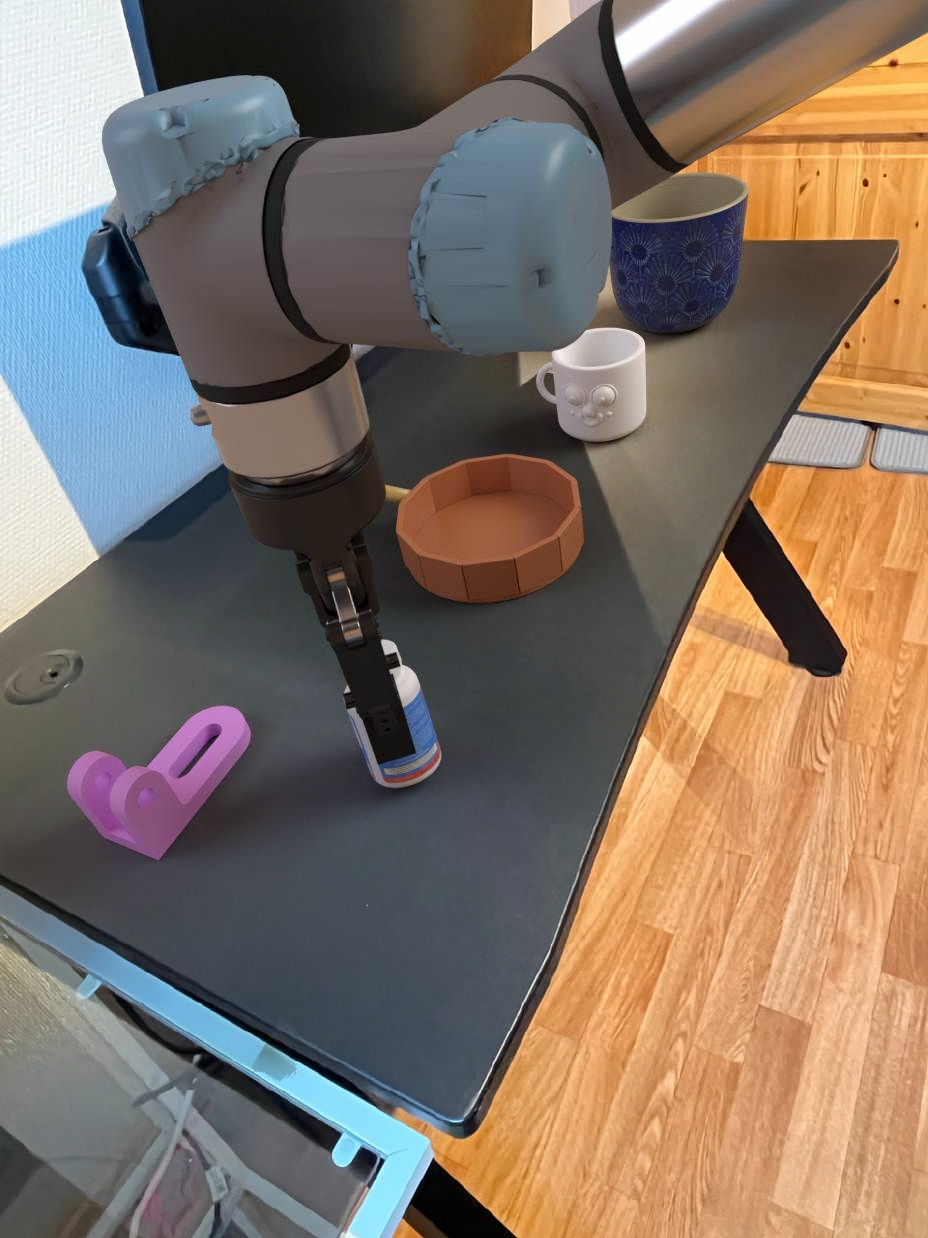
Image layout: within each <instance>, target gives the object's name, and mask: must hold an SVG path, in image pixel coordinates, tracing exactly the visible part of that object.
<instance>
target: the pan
mask: <svg viewBox="0 0 928 1238" xmlns="http://www.w3.org/2000/svg"><path fill="white" fill-rule="evenodd" d="M385 487H386V498H385V502H387V503H391V504H396V505H398V510H397V517H396V525H395V533H396V537H397V541H398V544H399V548H400V551H401V556H402V559H403V563H404V566H405V567H406V569H408V570H409V572H410V574H411V576H412V577H413V579H414V580H415V581H416V582H417V583H418V584H419V585H420V586H421V587H422V588H424V589H425V590H427V591H428V592H429V593H432V594H434V595H436V596H438V597H441V598H444V599H447V600H451V601H455V602H460V603H471V604H473V603H474V604H485V603H497V602H503V601H510V600H514V599H517V598H521V597H524V596H526V595H530V594H532V593H535V592H537V591H539V590H541V589H543V588H545V587H547V586H548V585H551V584H552V583H553V582H555V581H556V580H558V579H559V578H560V577H562V576H563V575H564V574H565V573H566V572H567V571H569V569H570V568H571V567H572V565H573V564H574V563H575V562H576V560H577V558H578V557H579V554H580V552H581V549H582V547H583V545H584V542H585V536H584V535H585V533H584V524H583V511H582V505H581V497H580V490H579V485H578V480H577V478H576V477H574V476H573V475H571V474H569V473H568V472H567V471H565V470H564V469H563V468H561V467H560V466H558V465H557V464H555V463H554V462H553V461H552V460H549V459H543V458H537V457H531V456H525V455H520V454H514V453H509V454H508V453H502V454H496V455H489V456H482V457H473V458H466V459H462V460H460V461H458V462H455V463H454V464H451V465H449V466H447V467H444V468H442V469H440V470H437V471H435V472H433V473H431V474H428V475H426V476H424V477H423V478H422V479H421V480H420V481H419V482H418V483H417V484H416V485H415V486H414V487H413V488H412V489H408V488H402V487H398V486H393V485H388V484H385Z"/></svg>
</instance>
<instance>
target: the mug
mask: <svg viewBox="0 0 928 1238" xmlns="http://www.w3.org/2000/svg"><path fill="white" fill-rule="evenodd" d="M646 363H647V362H646V343H645V340H644V338H643V337H642V336H641V335H639V333H636V332H635V331H633V330H629V329H625V328H621V327H598V328H597V327H596V328H589V329H587V330H586V331H585V332H584V333H583V334H582V336H581V337H580V338H579V339H578V340H576V341H575V342H574V343H572V344H571V345H569V346H567V347H565V348H563V349H560V350H556V351H551V361H548V362H546V363H545V364H543V365H542V366H541V367H540V368H539V370H538V371H537V374H536V378H535V379H536V380H535V384H536V388H537V390H538V392H539V394H540V396H542V398H543V399H544V400H545V401H547V402H548V403H550V404H554V405H556V410H557V411H556V412H557V420H558V424H559V426H560V428H561V429H562V430H563V432H564V433H566V434H567V435H569V437H572V438H575V439H576V440H580V441H585V442H595V443H596V442H600V443H601V442H608V441H614V440H617V439H621V438H624V437H626V436H628V435H629V434H631V433H633V432H635V431H636V430H637V429H638V428H640V426H641V425H642V423H644V420H645V418H646V415H647V367H646V365H647V364H646ZM551 370H552V374H553V384H554V394H551V392H549V391H548V390H547V388H546V386H545V381H544V380H545V376H546V375H547V373H549V371H551Z"/></svg>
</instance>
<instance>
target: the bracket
mask: <svg viewBox="0 0 928 1238" xmlns="http://www.w3.org/2000/svg"><path fill="white" fill-rule="evenodd" d="M215 736H217V738H216V739H215V740H214V741H213V742H212V744H211V745H210V746H209V747H208V748H207V750H206V751H205V752H204V754H202V756H201V757H200V758H199V760H197V762H196V763H195V764H194V765H193V767H192V768H191V769H190V770H189V771H188V773H187V774H185V775H183V776H180V775H181V774H182V773H183V772H184V770H185V769H186V768H187V767H188V766H189V765H190V763H191V762H192V761H193V760H194V758H195V757H196V756H197V755H198V754H199V752H200V751H201V750H202V749H203V747H204V746H205V745H206V744H207V743H208V741H210V740H211V739H212V738H214V737H215ZM251 737H252V733H251V728H250V726H249V724H248V722H247V721H246V719H245V716H244V715H243V713H242V712H241V711H240V710H238V709H237V708H235V707H233V706H230V705H216V706H211V707H208V708H205V709H203V710H201V711H198V712H197V713H196V714H194V715H193V716H191V717H190V718H188V720H186V722H185V723H184V724H182V726H181V727H180V728H179V730H178V731H177V732H176V733H175V734H174V735H173V736H172V738H171V739H170V740H169V741H168V742H167V743H166V744H165V746H163V748H162V749H161V750H160V751H159V753H157V755H156V756H155V757H154V758H153V760H152V761H151V762H150V763H149V764H148V765H147V766H146V767H145V766H142V765H134V766H131V767H129V768H128V769H127V767H126V766H125V764H124V763H123V762H122V760H121V759H120V758H119V757H117V756H115V755H112V754H109V753H107V752H103V751H101V750H92V751H88V752H86V753H85V754H82V755H81V756H80V757H79V758H78V759H77V760H76V761H75V762H74V763H73V765H72V767H71V768H70V770H69V773H68V776H67V780H66V789H67V792H68V794H69V796H70V798H71V799H72V800H73V801H74V803H75V804H76V805H77V806H78V808H79V809H80V810H81V811H82V813H83V814H84V815H85V817H87V819H88V820H89V821H90V822H91V824H92V825H93V827H95V829H96V830H97V831H98V832H99V834H100V835H101V836H102V837H103V838H104V839H106V840H109V841H111V842H113V843H116V844H118V845H120V846H123V847H125V848H127V849H129V850H132V851H134V852H137V853H140V854H142V855H145V856H147V857H149V858H151V859H154V860H155V861H160V860H161V859H162V857H163V856H164V854H165V853H166V852H167V850H168V849H169V848H170V847H171V846H172V844H173V843H174V842H175V841H176V839H177V838H178V837H179V835H180V834H181V833H182V832H183V830H184V829H185V828H186V827H187V825H188V824H189V823H190V821H192V819H193V817H194V816H195V815H196V814H197V813H198V811H199V810H200V809H201V808H202V806H203V805H204V804H205V803H206V801H207V800H208V798H210V796H211V795H212V793H214V791H215V789H217V787H218V786H219V784H221V782H222V781H223V780H224V778H225V777H226V776H227V774H228V773H229V772H230V771H231V770H232V768H233V767H234V766H235V764H236V763H237V762H238V760H239V759H240V758H241V757H242V755H244V753H245V752H246V750H247V748H248V747H249V744H250V742H251ZM179 776H180V777H179Z"/></svg>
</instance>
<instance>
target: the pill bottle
mask: <svg viewBox="0 0 928 1238" xmlns="http://www.w3.org/2000/svg"><path fill="white" fill-rule="evenodd" d="M381 643H382V646H383V650H384V653H385V655H387V654H390V653H394V652H397V656H398V659H399V663H400V666H401V667H398V668H395V669H391V670H390V674H393V675H394V679H395V682H396V685H397V689H398V692H399V695H400V699H401V702H402V706H403V709H404V713H405V716H406V719H407V723H408V726H409V730H410V733H411V736H412V740H413V743H414V747H415V750H416V754H412V755H409V756H406V757H403V758H399V759H396V760H393V761H390V762H386V763H383V764H380V765H378V764H377V761H376V758H375V755H374V752H373V750H372V747H371V744H370V741H369V738H368V735H367V732H366V729H365V726H364V724H363V721H362V719H361V717H359V714H357V712H356V709H355V708H351V709H348V710H347V709H346V712H347V715H348V717H349V720H350V722H351V725H352V728H353V731H354V733H355V736H356V738H357V741H358V743H359V744H358V745H359V746H360V749H361V751H362V754H363V757H364V760H365V763H366V765H367V768H368V771H369V773H370V774H371V776H372V778H373V780H374V781H375V782H376V783H378V784H379V785H380V786H382V787H386V788H390V789H391V788H392V789H399V788H407V787H410V786H412V785H415V784H418V783H420V782H422V781H423V780H425V779H427V778H428V777H430V776H431V775H432V774H433V773H434V772H435V771H436V770H437V769H438V767H439V766H440V763H441V760H442V749H441V746H440V742H439V739H438V736H437V734H436V731H435V728H434V724H433V721H432V718H431V715H430V712H429V709H428V705H427V703H426V700H425V699H426V698H425V696H424V693H423V689H422V687H421V684H420V682H419V678H418V675H417V674H416V672H415V671H414V670H413V669H411V668H410V667H409V666H407V665H404V664H403V662H402V661H403V660H402V656H401V654H400V652H399V650H398V647H397V645H396V643H395V642H393V641H392V640H389V639H382V641H381ZM347 692H350V689H349V687H348V684H347V685H346V687H345V689H344V692H343V694H344V693H347ZM343 702H344V703H343V704H344V706H345V707H346V705H345V701H344V700H343Z"/></svg>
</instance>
